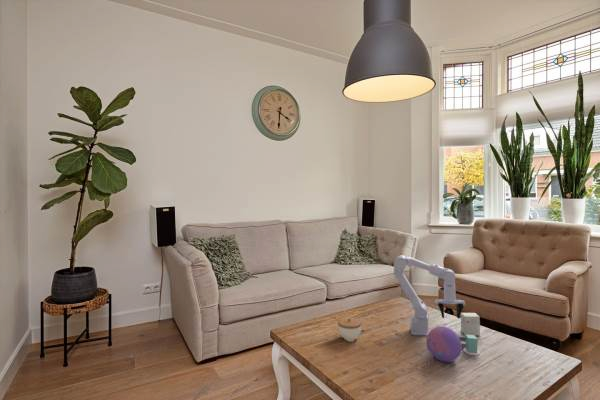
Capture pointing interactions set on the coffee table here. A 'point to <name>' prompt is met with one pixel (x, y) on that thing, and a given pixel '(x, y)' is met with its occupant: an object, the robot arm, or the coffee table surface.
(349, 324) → the lidded bowl
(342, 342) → the coffee table surface
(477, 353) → the coaster
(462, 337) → the pocket board
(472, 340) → the peg
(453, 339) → the decorative ball
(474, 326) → the small box
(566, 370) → the coffee table surface
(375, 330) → the coffee table surface
